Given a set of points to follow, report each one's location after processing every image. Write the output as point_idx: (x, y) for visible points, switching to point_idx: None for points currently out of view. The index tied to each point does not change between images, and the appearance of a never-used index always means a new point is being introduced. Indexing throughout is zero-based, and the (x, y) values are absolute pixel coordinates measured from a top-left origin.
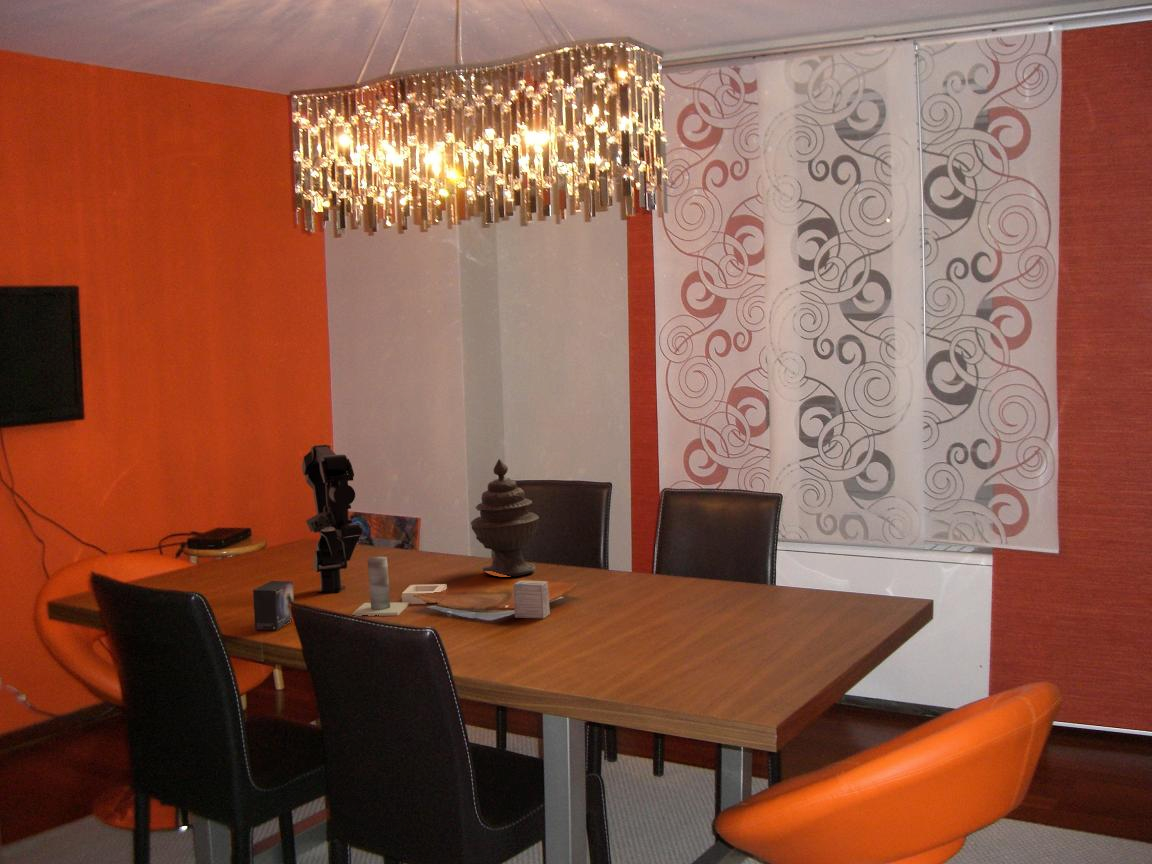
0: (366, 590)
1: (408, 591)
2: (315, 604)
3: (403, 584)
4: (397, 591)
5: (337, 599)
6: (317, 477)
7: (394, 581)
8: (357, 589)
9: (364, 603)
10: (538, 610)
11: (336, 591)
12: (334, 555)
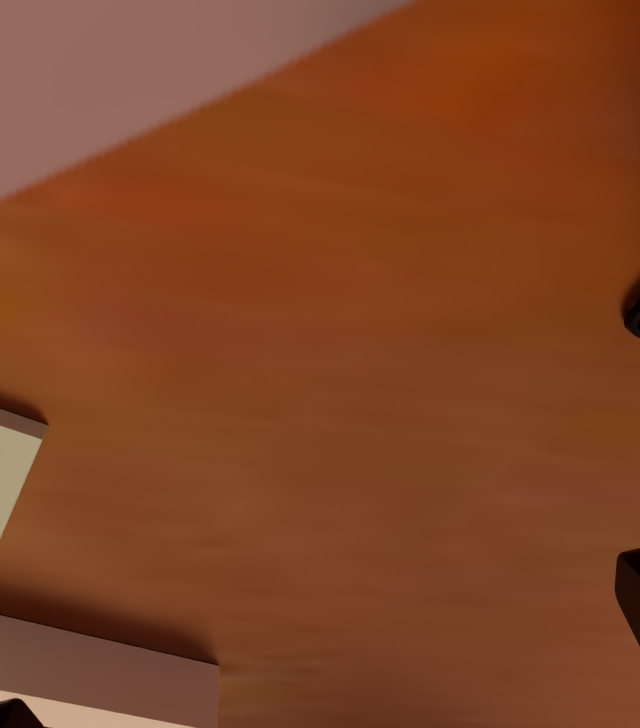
0: (539, 488)
1: None
2: (330, 49)
3: (526, 654)
4: (376, 620)
5: (403, 276)
6: None
7: None
8: (616, 446)
9: (21, 436)
10: None
11: (635, 310)
12: (621, 587)
